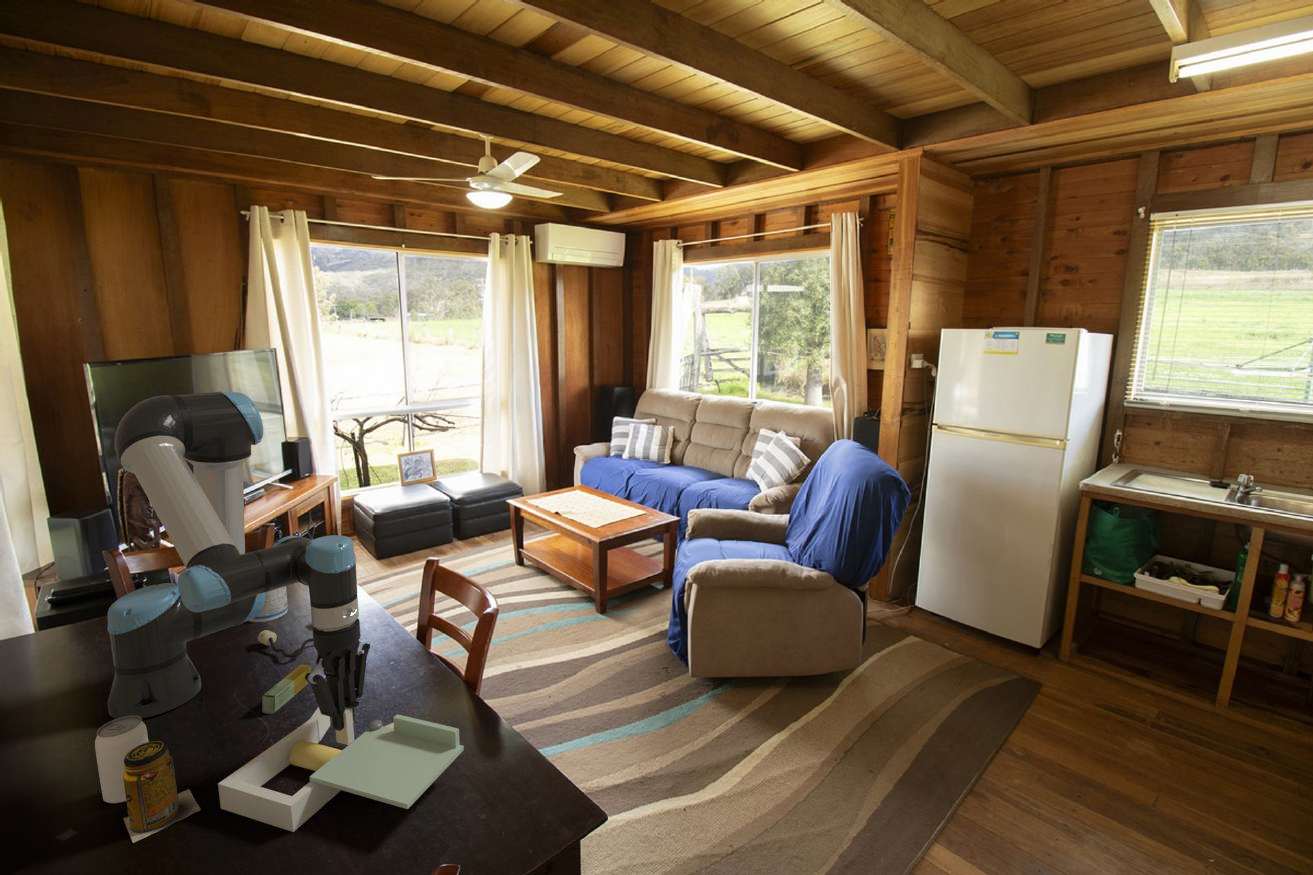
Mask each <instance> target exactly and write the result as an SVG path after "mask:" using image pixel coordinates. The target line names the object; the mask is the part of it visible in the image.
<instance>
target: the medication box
mask: <svg viewBox="0 0 1313 875" xmlns="http://www.w3.org/2000/svg"><path fill="white" fill-rule="evenodd" d="M307 673H312V666H311V665H308V664H300V665H299V666H297V667H296V668H294V670H292V671H291V672H290V673H289V674H287V675H286V676H284V678H283V679H281V680H280V681H279V682H277V683H276V684H275V685H273V687H272V688H270V689H269V690H268V691H266V692H265V693H264V694H262V695H261V698H262V701H261V712H262V713H263V714H264V715H268V714H269V715H271V714H275V713H276V712H277V711H278V710H280V709H281V708H282V707H283V706H284V705H285V704H287V703H288V702H289V701H290V700H291V699H292V698H294V697H295V695H297V694H298V693H299V692H300V691H302V689H303V688H305V687H306V686H307V685H309V684H310V683H309V682H308V681H306V680H305V675H306V674H307Z"/></svg>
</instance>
